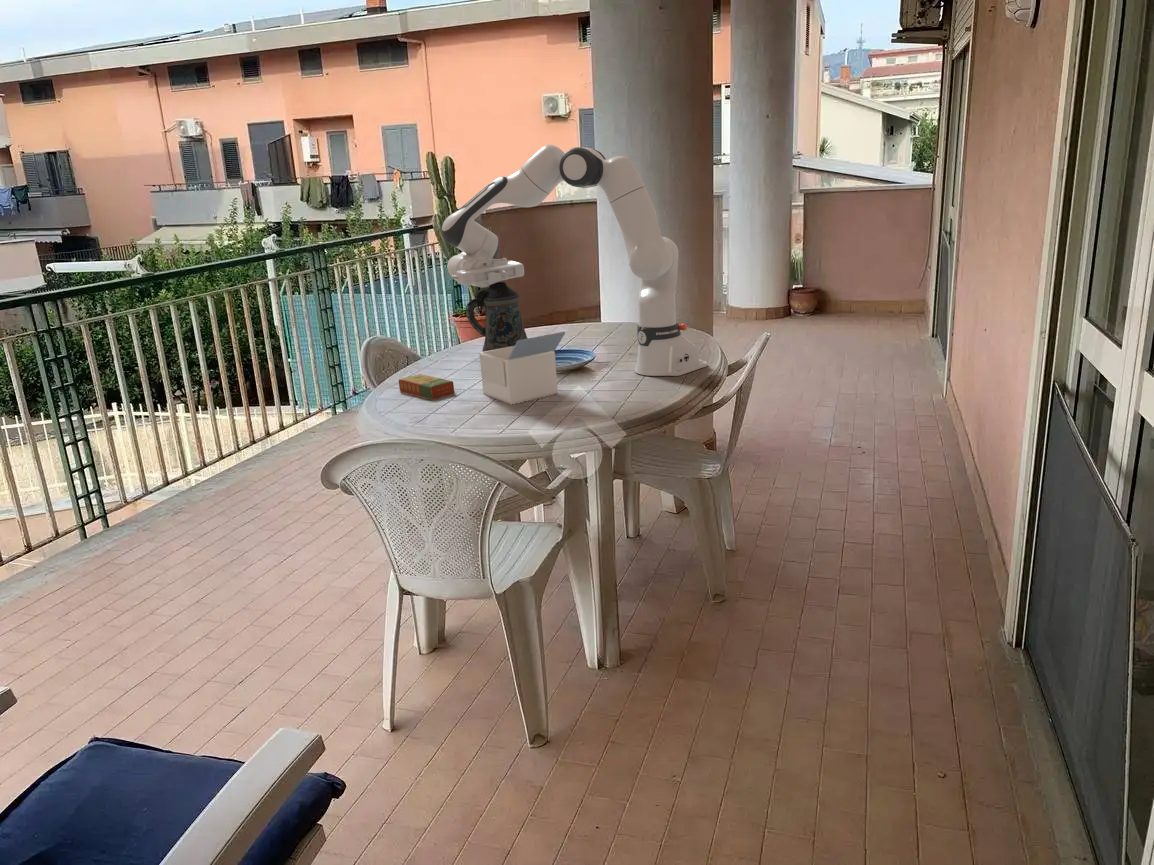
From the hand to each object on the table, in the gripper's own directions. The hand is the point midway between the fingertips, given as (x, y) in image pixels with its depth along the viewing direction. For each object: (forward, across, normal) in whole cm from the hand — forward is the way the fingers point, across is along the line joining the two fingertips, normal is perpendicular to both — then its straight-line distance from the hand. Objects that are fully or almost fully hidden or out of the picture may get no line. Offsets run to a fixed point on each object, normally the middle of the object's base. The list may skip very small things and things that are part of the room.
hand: (503, 276), depth 233 cm
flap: (+22, -4, +16) cm, 27 cm away
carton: (-11, -23, +32) cm, 41 cm away
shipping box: (+11, -4, +32) cm, 34 cm away
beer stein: (-34, +16, +33) cm, 49 cm away
